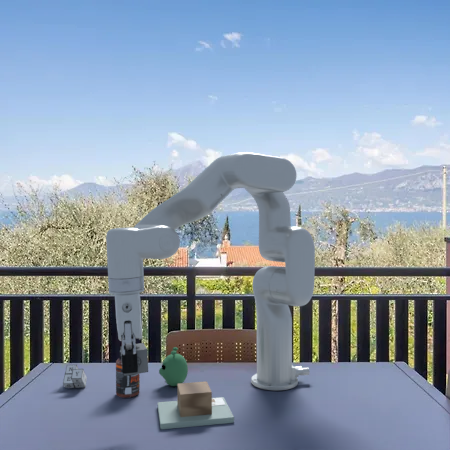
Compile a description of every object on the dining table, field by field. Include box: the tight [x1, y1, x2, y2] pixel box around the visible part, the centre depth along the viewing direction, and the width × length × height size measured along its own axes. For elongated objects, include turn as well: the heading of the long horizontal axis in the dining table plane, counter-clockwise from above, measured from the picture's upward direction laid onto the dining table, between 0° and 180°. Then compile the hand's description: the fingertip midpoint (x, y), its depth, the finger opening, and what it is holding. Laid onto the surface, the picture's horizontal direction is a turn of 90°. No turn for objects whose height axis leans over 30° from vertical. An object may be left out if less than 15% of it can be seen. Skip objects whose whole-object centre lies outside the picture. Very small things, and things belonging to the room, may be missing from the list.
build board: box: [157, 396, 235, 430], centre depth 109 cm, size 16×12×1 cm
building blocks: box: [62, 364, 88, 389], centre depth 128 cm, size 5×5×8 cm
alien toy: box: [158, 346, 189, 387], centre depth 128 cm, size 7×8×10 cm
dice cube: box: [120, 342, 149, 376], centre depth 103 cm, size 5×5×5 cm
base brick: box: [176, 381, 213, 417], centre depth 109 cm, size 7×7×5 cm
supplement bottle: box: [115, 349, 141, 399], centre depth 121 cm, size 6×6×11 cm
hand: (130, 367), depth 103 cm, fingers closed on dice cube, 5 cm apart
